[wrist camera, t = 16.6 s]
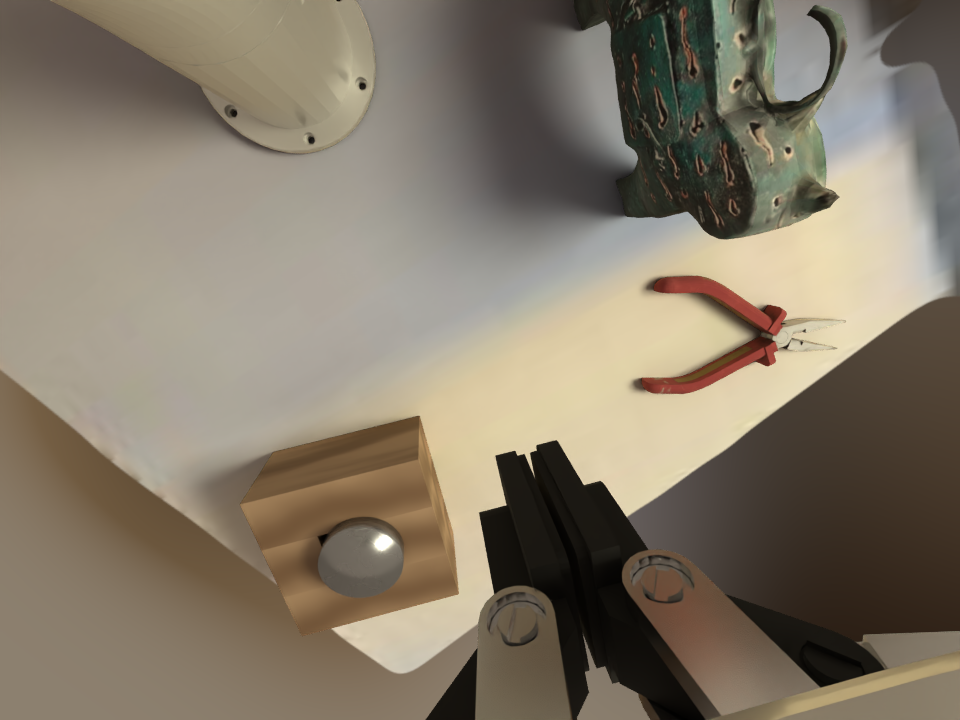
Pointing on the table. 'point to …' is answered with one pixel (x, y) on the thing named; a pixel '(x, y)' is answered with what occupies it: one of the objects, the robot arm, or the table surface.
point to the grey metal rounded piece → (361, 557)
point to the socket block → (348, 494)
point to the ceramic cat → (715, 113)
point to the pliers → (755, 350)
